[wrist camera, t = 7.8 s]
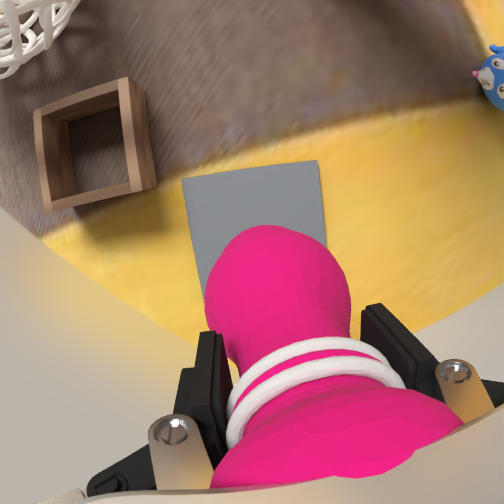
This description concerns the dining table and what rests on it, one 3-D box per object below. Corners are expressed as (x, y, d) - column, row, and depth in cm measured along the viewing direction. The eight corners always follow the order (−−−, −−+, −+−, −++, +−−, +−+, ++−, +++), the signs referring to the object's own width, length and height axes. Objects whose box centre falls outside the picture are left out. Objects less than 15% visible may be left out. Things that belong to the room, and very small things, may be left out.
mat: (182, 178, 32) (181, 179, 31) (315, 160, 32) (317, 160, 31) (205, 304, 35) (205, 306, 35) (327, 284, 36) (328, 286, 35)
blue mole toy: (443, 38, 28) (481, 21, 20) (497, 55, 29) (533, 45, 20) (459, 122, 31) (503, 117, 23) (510, 129, 32) (550, 129, 24)
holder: (60, 117, 28) (32, 110, 23) (144, 91, 29) (127, 76, 23) (72, 205, 31) (45, 213, 25) (157, 186, 32) (142, 190, 26)
